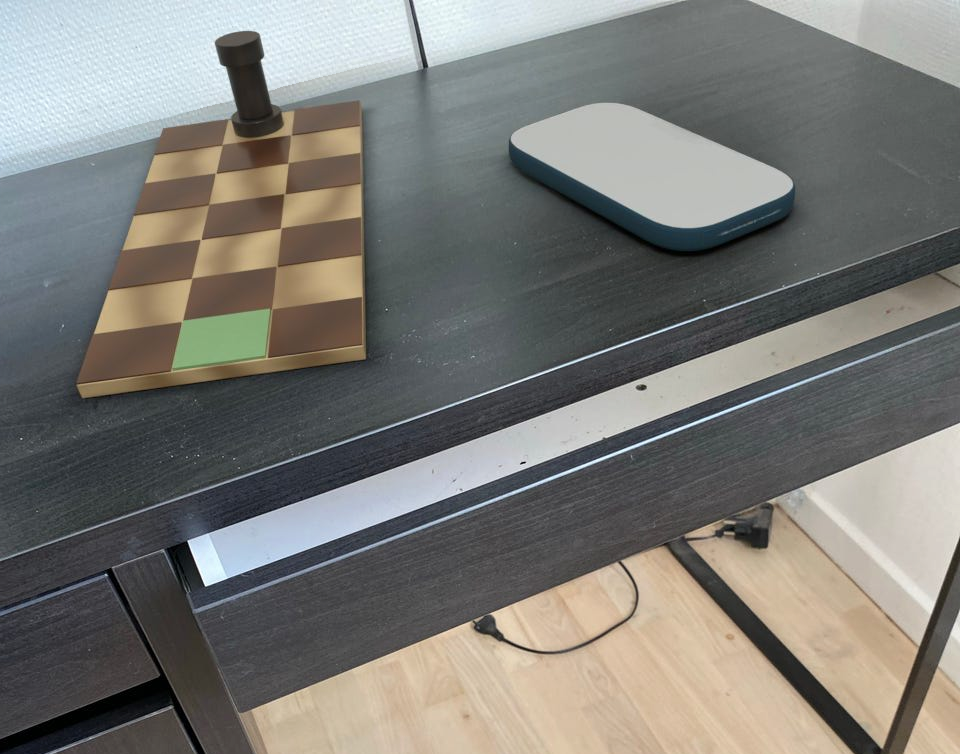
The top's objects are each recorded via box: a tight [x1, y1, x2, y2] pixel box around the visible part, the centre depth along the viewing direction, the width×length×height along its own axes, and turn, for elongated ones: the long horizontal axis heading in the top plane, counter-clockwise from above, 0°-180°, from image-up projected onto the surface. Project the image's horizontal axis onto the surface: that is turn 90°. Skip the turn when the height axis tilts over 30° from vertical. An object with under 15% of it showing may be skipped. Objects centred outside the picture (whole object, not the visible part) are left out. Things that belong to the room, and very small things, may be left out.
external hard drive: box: [508, 101, 796, 252], centre depth 75 cm, size 24×12×2 cm, turn 31°
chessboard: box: [75, 99, 367, 399], centre depth 78 cm, size 18×42×1 cm, turn 5°
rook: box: [214, 30, 284, 138], centre depth 87 cm, size 4×4×7 cm
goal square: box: [172, 309, 271, 371], centre depth 65 cm, size 6×6×1 cm
